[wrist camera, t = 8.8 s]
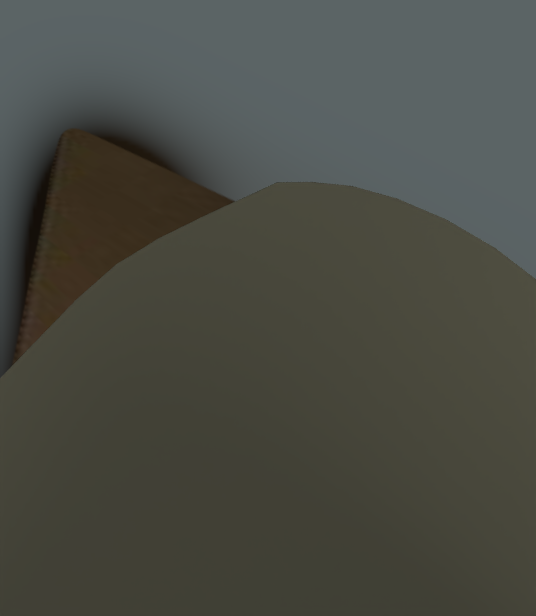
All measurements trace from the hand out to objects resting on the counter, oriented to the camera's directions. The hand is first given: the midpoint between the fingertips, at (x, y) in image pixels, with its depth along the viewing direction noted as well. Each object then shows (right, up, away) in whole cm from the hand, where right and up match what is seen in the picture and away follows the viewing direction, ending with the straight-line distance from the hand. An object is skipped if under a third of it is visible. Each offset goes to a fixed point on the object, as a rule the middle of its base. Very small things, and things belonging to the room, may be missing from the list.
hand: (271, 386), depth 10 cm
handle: (+1, -5, +7) cm, 8 cm away
